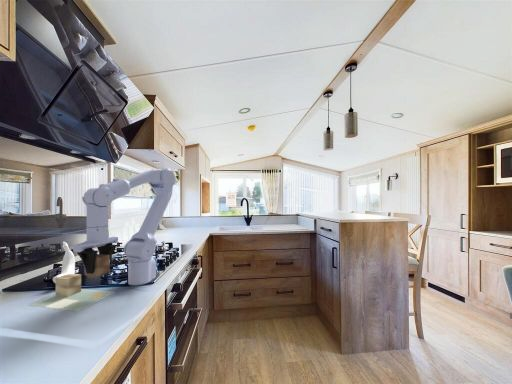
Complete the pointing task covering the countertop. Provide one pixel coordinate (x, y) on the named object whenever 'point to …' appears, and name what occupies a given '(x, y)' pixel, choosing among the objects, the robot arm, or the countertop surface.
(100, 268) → the walnut block
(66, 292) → the oak block
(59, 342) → the countertop surface
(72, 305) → the board
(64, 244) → the white curved piece
